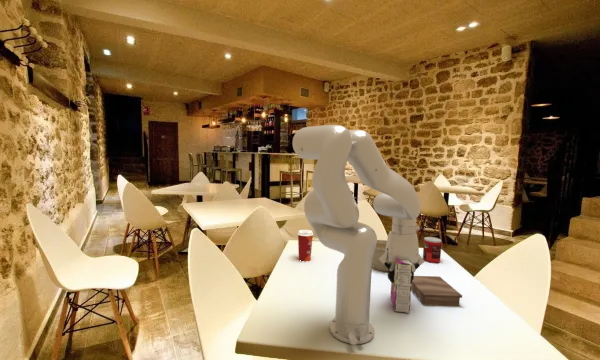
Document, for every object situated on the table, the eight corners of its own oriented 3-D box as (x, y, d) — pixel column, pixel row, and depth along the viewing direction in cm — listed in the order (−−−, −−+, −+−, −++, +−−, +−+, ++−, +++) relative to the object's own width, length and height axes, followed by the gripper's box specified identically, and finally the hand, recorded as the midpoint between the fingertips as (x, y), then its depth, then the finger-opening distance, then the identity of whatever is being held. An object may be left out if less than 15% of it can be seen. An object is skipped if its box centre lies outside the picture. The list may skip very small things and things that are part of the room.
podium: (461, 306, 100) (462, 295, 100) (423, 305, 100) (424, 294, 100) (438, 286, 116) (439, 276, 116) (406, 285, 116) (406, 275, 116)
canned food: (424, 257, 151) (425, 236, 150) (441, 260, 147) (443, 238, 146) (420, 261, 145) (422, 239, 144) (438, 264, 140) (439, 242, 140)
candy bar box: (389, 296, 106) (391, 251, 105) (403, 297, 106) (406, 253, 104) (394, 312, 95) (397, 262, 94) (410, 313, 95) (413, 264, 93)
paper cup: (312, 262, 138) (313, 233, 137) (296, 262, 138) (297, 233, 137) (312, 257, 146) (313, 229, 145) (296, 256, 146) (297, 229, 145)
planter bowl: (407, 275, 126) (408, 250, 125) (369, 274, 127) (370, 249, 126) (396, 262, 142) (397, 240, 142) (362, 260, 143) (363, 239, 142)
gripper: (424, 227, 103) (420, 277, 104) (375, 225, 102) (372, 276, 104) (434, 232, 95) (430, 287, 96) (381, 231, 95) (378, 285, 96)
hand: (400, 281), depth 100 cm, fingers closed on candy bar box, 5 cm apart
